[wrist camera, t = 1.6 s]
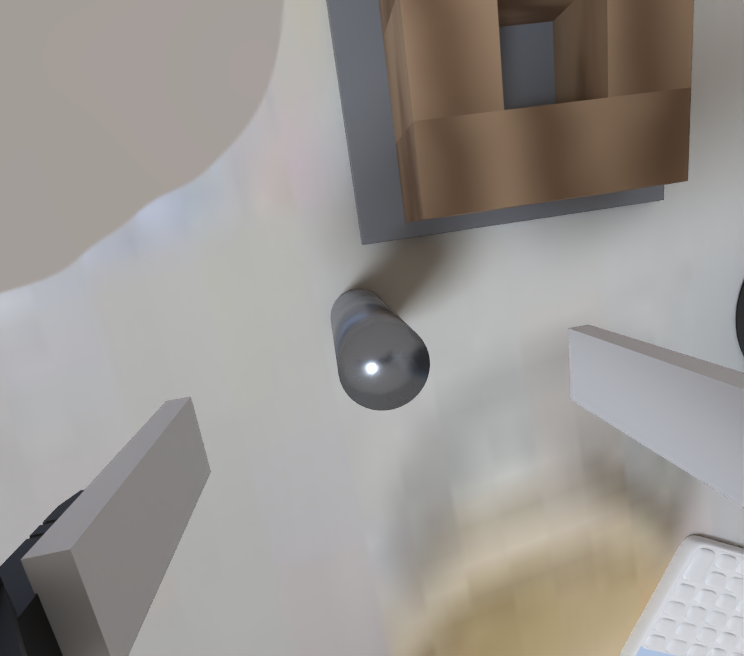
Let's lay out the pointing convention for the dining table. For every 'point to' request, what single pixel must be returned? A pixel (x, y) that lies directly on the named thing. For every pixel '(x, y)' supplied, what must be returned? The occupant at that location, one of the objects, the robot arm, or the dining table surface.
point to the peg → (376, 352)
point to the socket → (509, 108)
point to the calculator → (694, 604)
